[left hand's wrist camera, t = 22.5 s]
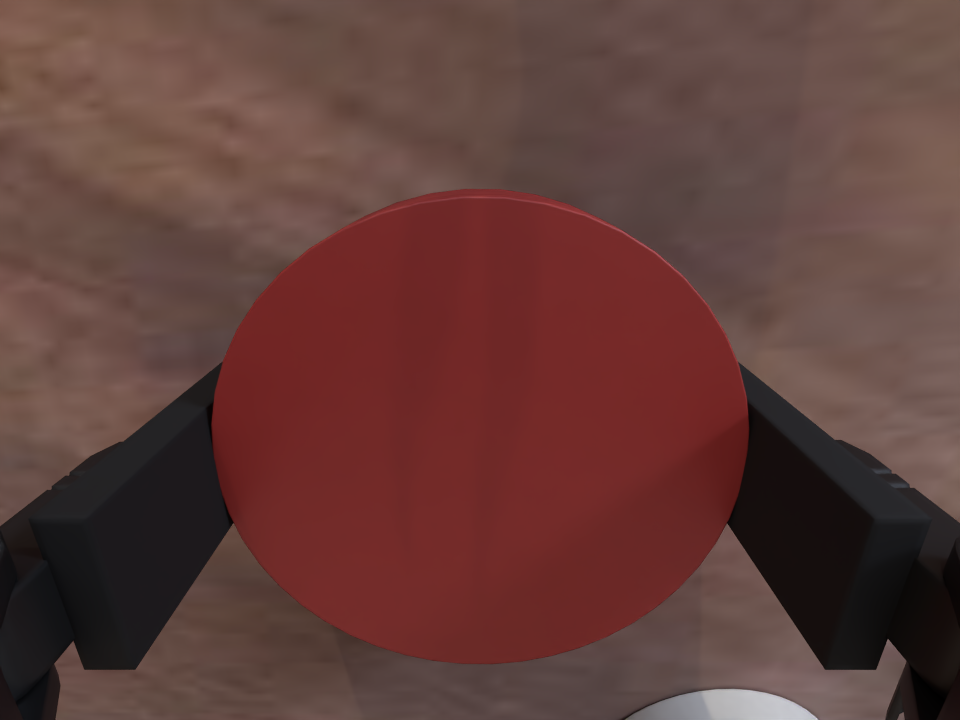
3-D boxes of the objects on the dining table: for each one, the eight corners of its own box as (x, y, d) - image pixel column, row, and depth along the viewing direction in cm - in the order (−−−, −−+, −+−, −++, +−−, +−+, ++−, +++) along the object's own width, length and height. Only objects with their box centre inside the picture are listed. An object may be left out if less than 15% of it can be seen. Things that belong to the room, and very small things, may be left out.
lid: (629, 628, 14) (649, 694, 12) (239, 566, 13) (204, 626, 12) (786, 249, 11) (845, 268, 9) (264, 134, 10) (218, 130, 8)
